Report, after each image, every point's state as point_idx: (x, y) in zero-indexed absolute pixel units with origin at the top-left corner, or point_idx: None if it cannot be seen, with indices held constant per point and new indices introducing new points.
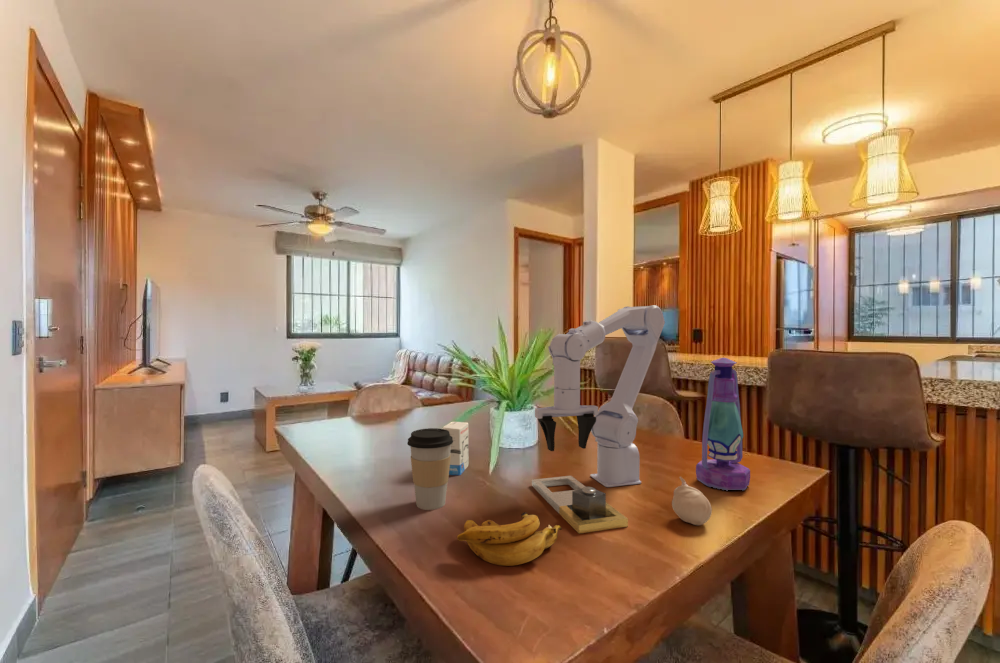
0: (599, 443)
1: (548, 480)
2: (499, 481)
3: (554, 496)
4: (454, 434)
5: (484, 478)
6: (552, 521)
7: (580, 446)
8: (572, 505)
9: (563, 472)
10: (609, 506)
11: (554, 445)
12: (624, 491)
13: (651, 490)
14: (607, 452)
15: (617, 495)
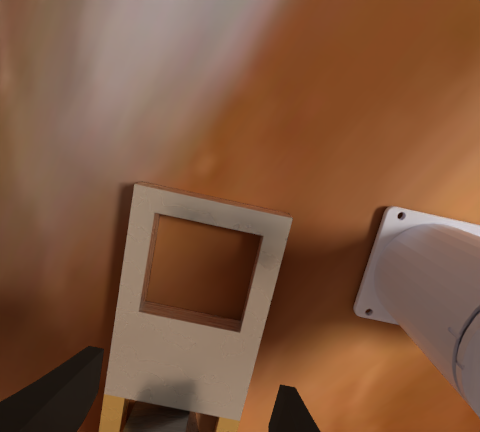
0: (465, 343)
1: (187, 218)
2: (53, 80)
3: (128, 338)
4: None
5: (8, 17)
6: None
7: (275, 404)
8: (125, 426)
9: (333, 114)
10: None
11: (79, 426)
12: (379, 351)
13: None
14: (441, 367)
15: (336, 362)
